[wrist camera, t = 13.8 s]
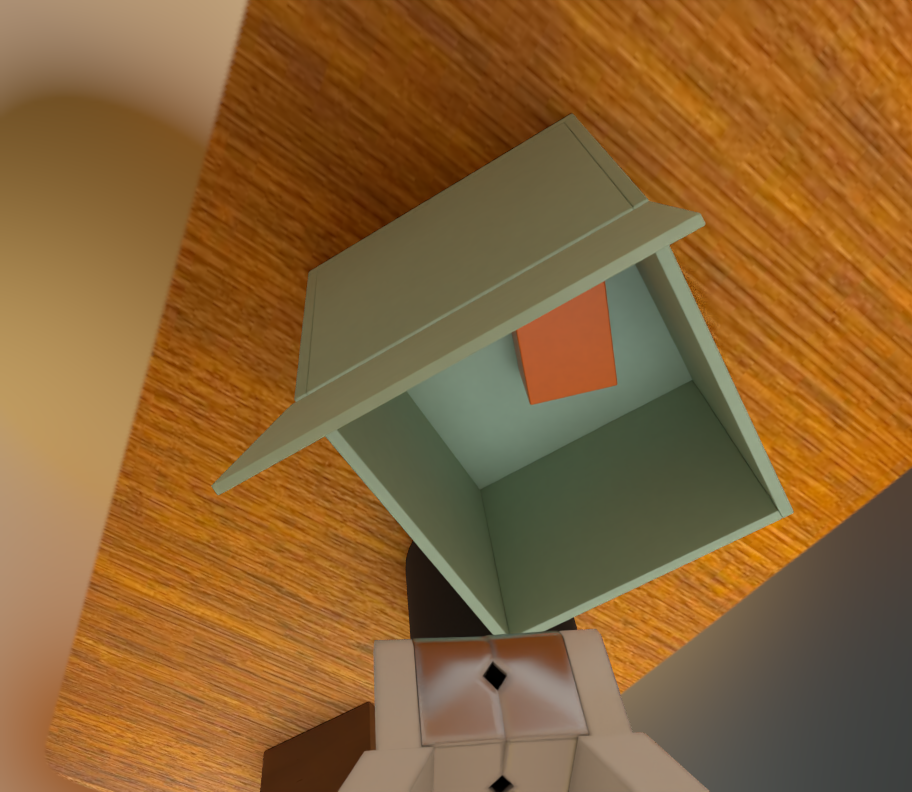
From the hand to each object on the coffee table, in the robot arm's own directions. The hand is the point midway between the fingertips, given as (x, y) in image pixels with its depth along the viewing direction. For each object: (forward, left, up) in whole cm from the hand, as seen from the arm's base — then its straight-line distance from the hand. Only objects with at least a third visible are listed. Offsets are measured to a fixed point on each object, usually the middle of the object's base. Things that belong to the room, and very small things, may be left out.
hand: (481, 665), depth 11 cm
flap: (+2, 0, -12) cm, 13 cm away
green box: (+11, 0, -27) cm, 29 cm away
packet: (+9, +2, -24) cm, 25 cm away
